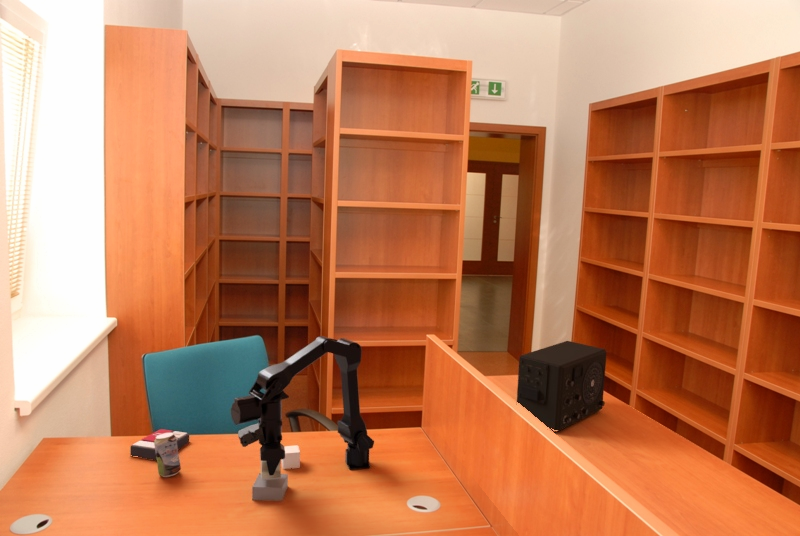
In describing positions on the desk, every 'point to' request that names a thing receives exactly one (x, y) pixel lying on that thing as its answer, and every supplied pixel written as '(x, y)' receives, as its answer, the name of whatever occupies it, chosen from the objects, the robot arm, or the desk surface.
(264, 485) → the grey base block
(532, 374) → the vintage radio
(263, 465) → the cube block
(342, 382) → the robot arm
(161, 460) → the beverage can
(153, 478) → the desk surface
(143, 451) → the red and white box
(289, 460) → the off-white block
